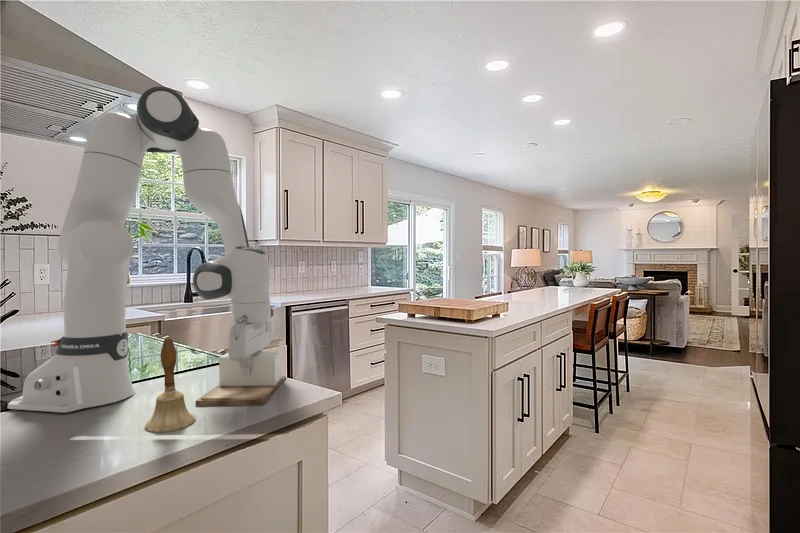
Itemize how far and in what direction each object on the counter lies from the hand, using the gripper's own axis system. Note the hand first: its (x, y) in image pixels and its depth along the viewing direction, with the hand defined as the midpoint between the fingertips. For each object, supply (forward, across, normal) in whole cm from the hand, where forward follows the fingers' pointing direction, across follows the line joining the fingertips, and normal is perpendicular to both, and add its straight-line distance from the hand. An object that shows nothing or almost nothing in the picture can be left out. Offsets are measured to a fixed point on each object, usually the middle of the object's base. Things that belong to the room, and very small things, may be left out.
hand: (251, 370), depth 104 cm
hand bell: (+4, -24, +7) cm, 25 cm away
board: (+4, -4, 0) cm, 6 cm away
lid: (+3, 0, 0) cm, 3 cm away
